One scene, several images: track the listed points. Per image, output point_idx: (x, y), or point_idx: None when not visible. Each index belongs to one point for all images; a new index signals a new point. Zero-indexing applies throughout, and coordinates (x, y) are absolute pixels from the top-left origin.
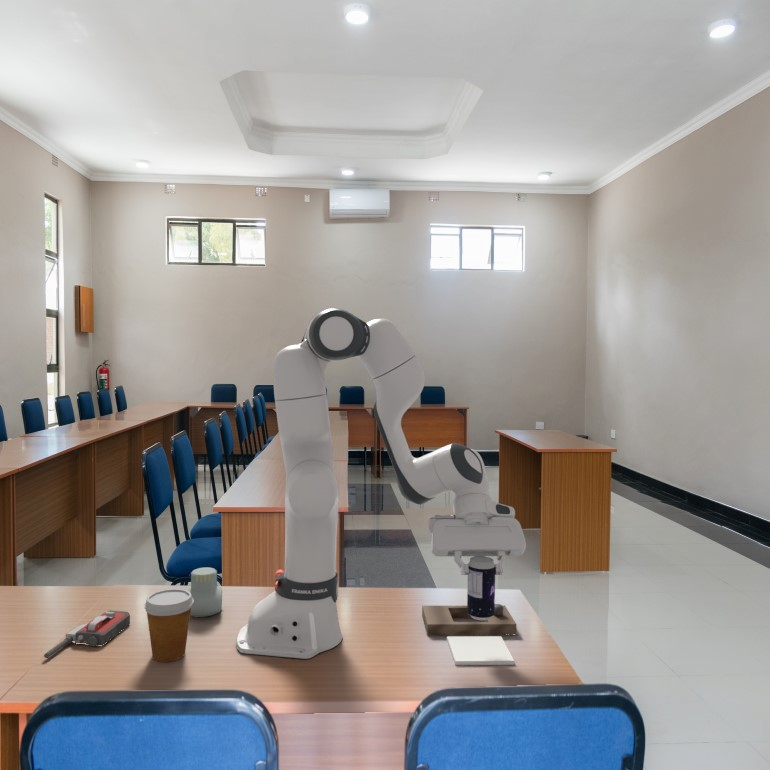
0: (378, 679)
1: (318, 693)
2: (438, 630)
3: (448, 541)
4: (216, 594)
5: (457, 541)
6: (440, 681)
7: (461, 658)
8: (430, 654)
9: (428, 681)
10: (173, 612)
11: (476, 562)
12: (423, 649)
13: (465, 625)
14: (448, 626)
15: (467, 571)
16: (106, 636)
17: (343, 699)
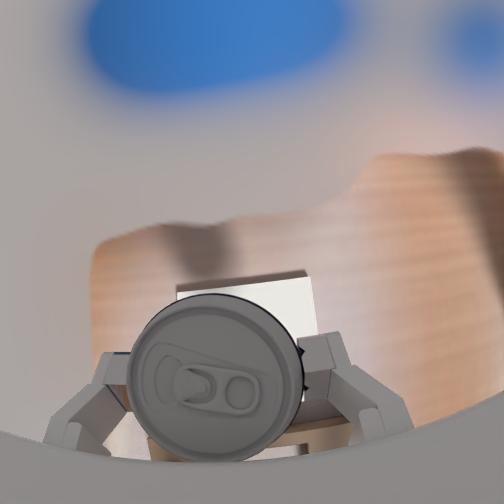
0: (438, 208)
1: (490, 168)
2: (344, 419)
3: (490, 458)
4: None
5: (422, 490)
6: (337, 210)
7: (295, 290)
8: (362, 319)
9: (358, 208)
10: None
11: (251, 318)
12: (377, 340)
13: None
14: (321, 425)
15: (306, 337)
16: None
17: (461, 154)
